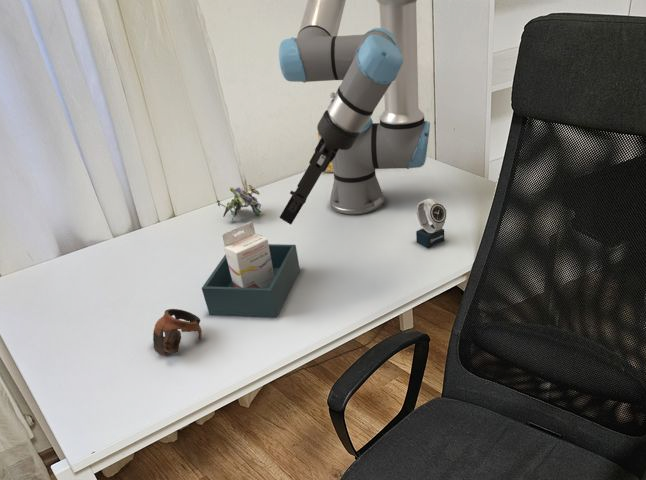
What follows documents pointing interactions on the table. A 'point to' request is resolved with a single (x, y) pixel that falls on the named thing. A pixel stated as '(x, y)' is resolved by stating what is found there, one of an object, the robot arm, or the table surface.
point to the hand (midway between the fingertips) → (294, 204)
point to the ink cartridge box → (248, 258)
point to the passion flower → (242, 201)
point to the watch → (437, 216)
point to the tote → (253, 300)
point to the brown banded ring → (173, 330)
